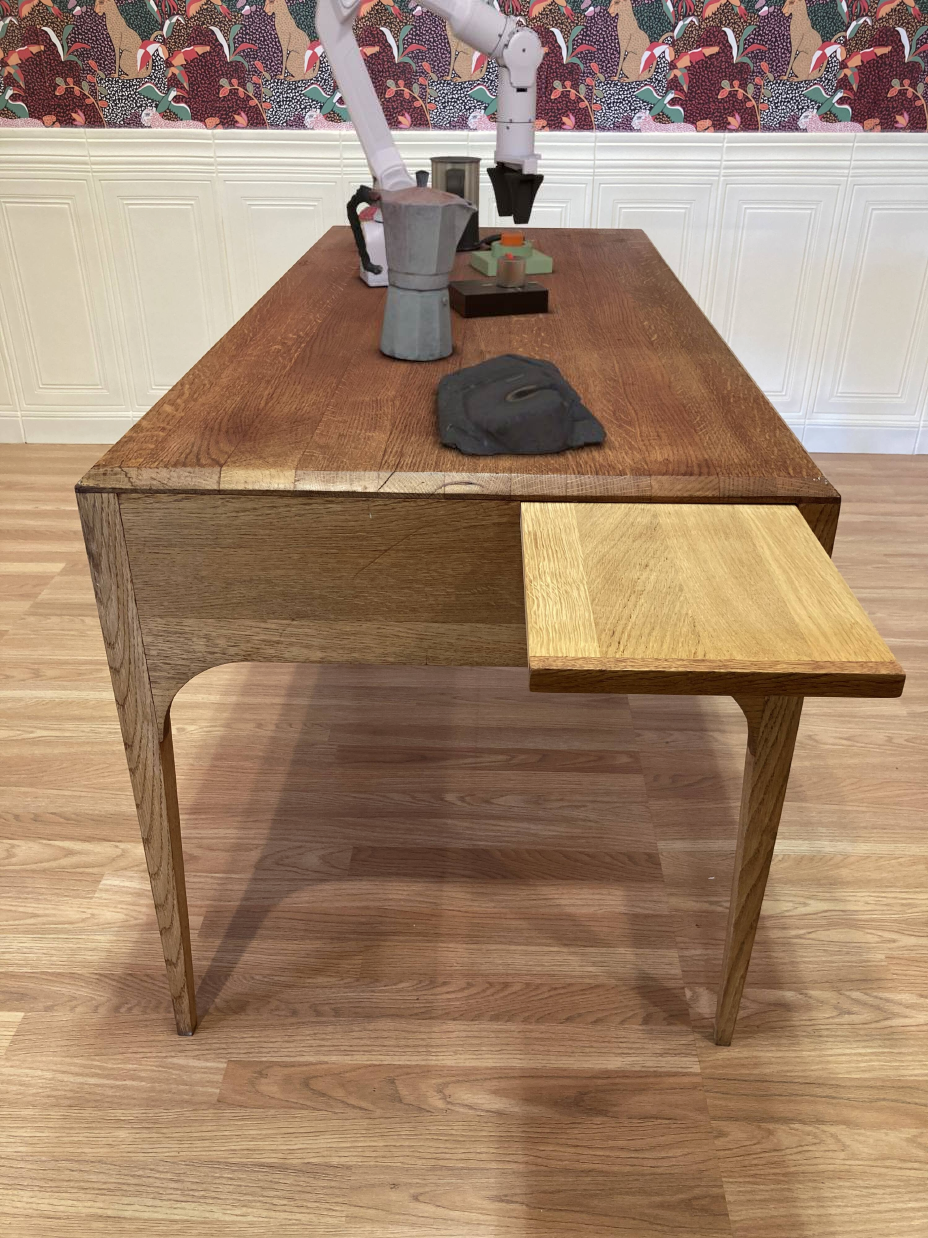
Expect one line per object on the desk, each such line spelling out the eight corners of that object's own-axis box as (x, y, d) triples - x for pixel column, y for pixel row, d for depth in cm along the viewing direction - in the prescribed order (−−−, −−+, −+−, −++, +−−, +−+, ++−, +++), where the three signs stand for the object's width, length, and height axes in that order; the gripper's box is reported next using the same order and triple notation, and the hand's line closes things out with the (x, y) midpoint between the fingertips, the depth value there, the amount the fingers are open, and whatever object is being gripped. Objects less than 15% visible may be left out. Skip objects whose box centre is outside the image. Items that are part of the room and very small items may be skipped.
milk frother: (424, 243, 178) (423, 155, 170) (504, 239, 182) (506, 153, 175) (445, 257, 166) (445, 163, 159) (531, 253, 171) (534, 161, 163)
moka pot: (467, 367, 110) (470, 176, 100) (339, 358, 113) (328, 171, 103) (483, 345, 118) (486, 166, 108) (362, 337, 121) (354, 162, 111)
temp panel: (465, 317, 130) (465, 293, 129) (446, 302, 138) (446, 279, 136) (548, 312, 133) (549, 288, 132) (526, 297, 141) (526, 275, 139)
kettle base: (488, 276, 154) (488, 249, 152) (471, 265, 161) (471, 240, 159) (552, 272, 156) (553, 246, 154) (532, 262, 164) (533, 237, 162)
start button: (505, 248, 155) (505, 236, 154) (497, 244, 158) (498, 233, 157) (526, 247, 156) (526, 235, 155) (518, 243, 159) (519, 232, 158)
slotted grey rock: (571, 381, 106) (574, 337, 104) (610, 453, 87) (615, 402, 85) (432, 383, 105) (432, 339, 103) (442, 457, 86) (442, 405, 84)
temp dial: (528, 286, 133) (530, 257, 131) (501, 288, 132) (502, 259, 130) (519, 280, 137) (520, 252, 135) (492, 282, 136) (493, 253, 134)
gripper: (558, 124, 137) (553, 226, 144) (525, 117, 149) (522, 211, 156) (512, 125, 136) (509, 227, 143) (481, 118, 148) (480, 213, 155)
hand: (513, 219), depth 149 cm, fingers open, 7 cm apart
